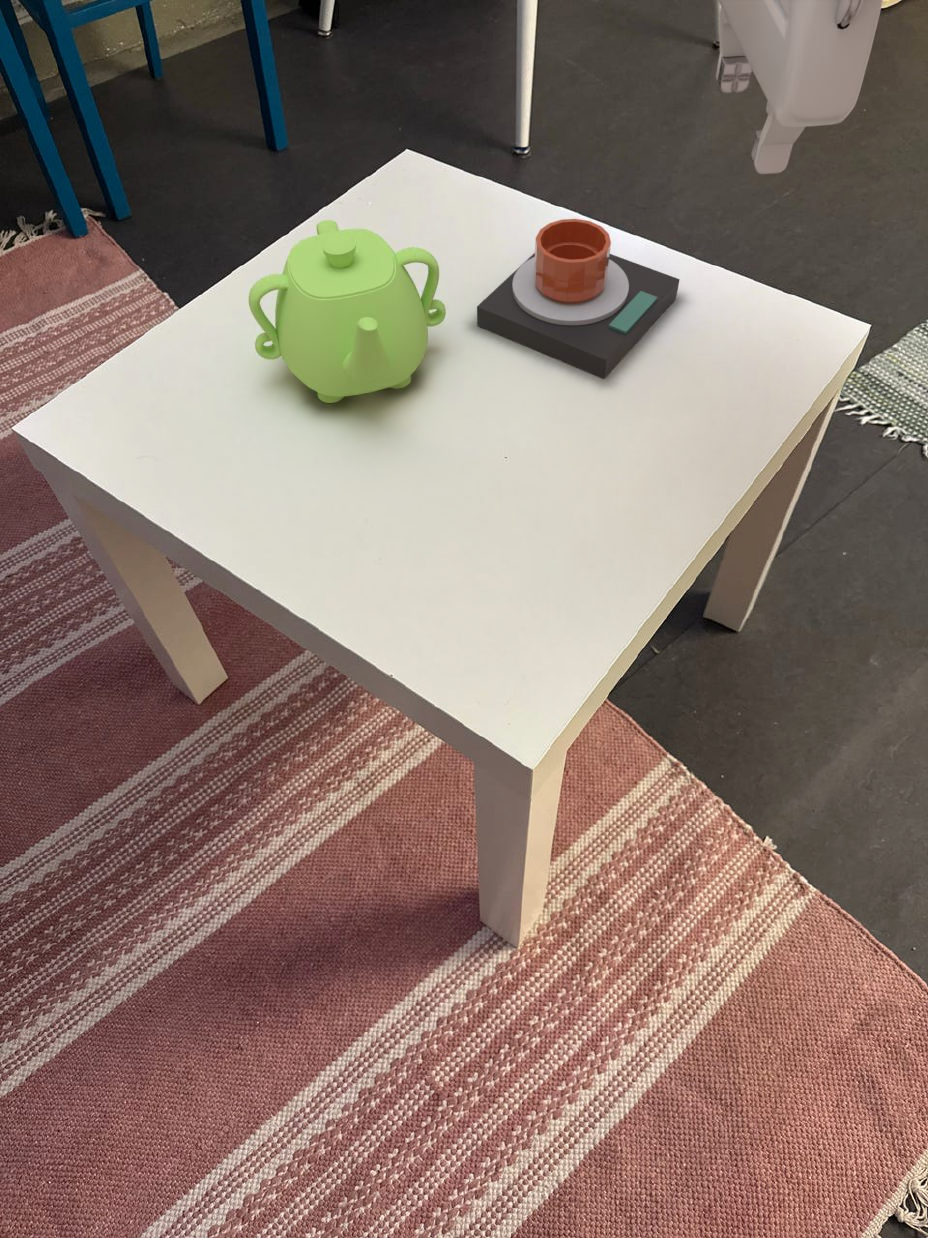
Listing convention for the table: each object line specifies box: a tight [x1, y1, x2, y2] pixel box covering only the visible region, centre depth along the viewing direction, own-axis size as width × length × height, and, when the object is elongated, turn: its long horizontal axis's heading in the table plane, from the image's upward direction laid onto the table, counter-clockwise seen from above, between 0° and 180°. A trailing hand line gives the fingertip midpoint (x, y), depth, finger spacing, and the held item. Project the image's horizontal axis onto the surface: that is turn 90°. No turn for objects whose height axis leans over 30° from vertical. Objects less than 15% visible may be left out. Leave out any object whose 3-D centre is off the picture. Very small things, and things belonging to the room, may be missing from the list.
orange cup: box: [534, 218, 612, 303], centre depth 85 cm, size 7×7×5 cm
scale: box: [476, 252, 680, 380], centre depth 88 cm, size 14×14×3 cm
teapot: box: [248, 219, 447, 404], centre depth 80 cm, size 16×14×13 cm
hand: (747, 125), depth 56 cm, fingers open, 8 cm apart
